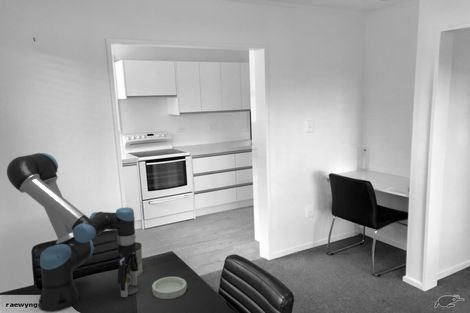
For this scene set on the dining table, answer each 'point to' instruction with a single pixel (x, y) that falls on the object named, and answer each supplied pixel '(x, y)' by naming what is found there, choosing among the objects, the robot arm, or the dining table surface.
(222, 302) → the dining table surface
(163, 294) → the dish
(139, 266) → the coffee can
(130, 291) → the pocket watch
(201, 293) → the dining table surface
